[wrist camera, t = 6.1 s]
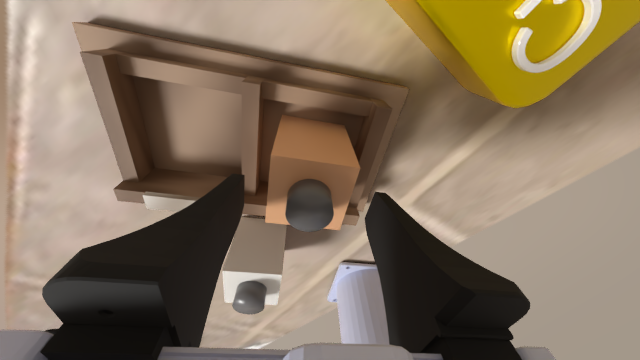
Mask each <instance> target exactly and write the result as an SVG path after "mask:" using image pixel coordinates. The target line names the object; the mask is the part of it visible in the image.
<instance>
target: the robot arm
mask: <svg viewBox="0 0 640 360" xmlns="http://www.w3.org/2000/svg"><path fill="white" fill-rule="evenodd" d="M244 189H245V175H241V174H231V175H230V176H229V177H227V178H226V179H225V180H224V181H222V182H221V183H220V184H219V185H217V186H216V187H215V188H213V189H212V190H211V191H209V192H208V193H207V194H205V195H204V196H203V197H201V198H200V199H198V200H197V201H195V202H194V203H192V204H191V205H189V206H187V207H186V208H184V209H182V210H180V211H179V212H177V213H175V214H173V215H171V216H169V217H167V218H165V219H163V220H161V221H158V222H156V223H154V224H152V225H150V226H147V227H145V228H143V229H140V230H138V231H135V232H132V233H130V234H127V235H124V236H122V237H119V238H116V239H113V240H110V241H107V242H103V243H100V244H97V245H94V246H91V247H87V248H84V249H82V250H80V251H79V252H78V253H77V254H76V255H75V256H74V257H73V258H72V259H71V260H70V261H69V262H68V263H67V264H66V265H65V266H64V267H63V268H62V269H61V270H60V271H59V272H58V273H57V274H56V275H55V276H53V277H52V278H51V279H50V280H49V281H48V282H47V284H46V285H45V286H44V287H43V293H42V295H43V298H44V300H45V302H46V303H47V305H48V306H49V307H50V308H51V309H52V310H53V312H54V313H55V314H56V315H57V316H58V318H59V319H60V320H61V321H62V322H63V325H62V326H61V327H60V328H59V329H58V331H57V332H56V333H55V334H54V335H53V334H52V333H49V332H45V331H35V330H5V329H1V330H0V360H556V359H555V357H554V356H553V355H552V353H551V352H550V351H549V349H548V348H545V347H519V348H514V346H513V345H512V343H511V342H510V340H512V339H513V335H512V334H511V332H510V331H509V329H508V328H509V327H510V326H511V325H513V324H514V323H516V322H517V321H518V320H519V319H521V318H522V317H523V316H524V315H525V314H526V313H527V312H528V310H529V309H530V302H529V301H528V299H527V298H526V296H525V295H524V294H523V293H522V292H521V290H520V289H519V288H518V287H517V285H516V284H515V283H514V282H512V281H510V280H508V279H506V278H504V277H502V276H500V275H497V274H495V273H493V272H491V271H489V270H487V269H485V268H484V267H482V266H480V265H478V264H476V263H474V262H473V261H471V260H469V259H467V258H466V257H464V256H462V255H461V254H459V253H458V252H456V251H454V250H453V249H451V248H450V247H448V246H447V245H446V244H444V243H443V242H441V241H440V240H439V239H437V238H436V237H435V236H433V235H432V234H431V233H429V232H428V231H427V230H426V229H424V228H423V227H422V226H421V225H420V224H419V223H417V222H416V221H415V220H414V219H413V218H412V217H411V216H410V215H409V214H407V213H406V212H405V211H404V210H403V209H402V208H401V207H400V206H399V205H398V204H397V203H396V202H395V201H394V200H393V199H392V198H391V197H390V196H388V195H387V194H386V193H381V192H375V194H374V196H373V199H372V202H371V204H370V207H369V209H368V212H367V214H366V217H365V224H366V231H367V236H368V239H369V243H370V246H371V249H372V253H373V256H374V259H375V263H376V265H374V264H361V263H348V262H342V263H340V265H339V267H338V270H337V273H336V275H335V278H334V281H333V284H332V286H331V289H330V292H329V294H328V297H327V299H328V301H329V302H337V304H338V313H339V322H340V331H341V340H342V343H311V344H304V345H301V346H298V347H296V348H293V349H292V350H273V349H272V350H271V349H270V350H269V349H235V348H199V346H200V342H201V338H202V334H203V330H204V326H205V323H206V319H207V315H208V312H209V308H210V304H211V301H212V297H213V294H214V290H215V287H216V283H217V280H218V277H219V273H220V270H221V267H222V264H223V261H224V258H225V256H226V253H227V251H228V249H229V246H230V244H231V242H232V239H233V237H234V235H235V232H236V230H237V227H238V225H239V222H240V219H241V216H242V212H243V208H244Z"/></svg>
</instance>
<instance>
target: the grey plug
mask: <svg viewBox="0 0 640 360" xmlns="http://www.w3.org/2000/svg"><path fill="white" fill-rule="evenodd" d="M286 229H287V225H285V224H275V223H265V219H259V218H249V217H241V219H240V222H239V225H238V227H237V230H236V233H235V236H234V239H233V242H232V244H231V247H230V250H229V253H228V256H227V259H226V262H225V265H224V268H223V271H222V272H223V286H224V300H225V302H227V303H233V305H232V306H233V309H234V310H236V311H237V312H239V313H243V314H256V313H259V312H261V311H262V310H263V309H264V305H265V304H267V305H277V302H278V296H279V290H280V284H281V278H282V269H283V259H284V249H285V239H286Z"/></svg>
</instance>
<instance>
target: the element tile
mask: <svg viewBox="0 0 640 360" xmlns="http://www.w3.org/2000/svg"><path fill="white" fill-rule="evenodd" d="M386 1H387V3H388V4H389V5H390V6H391V7H392V8H393V9H394V10H395V12H396V13H397V14H398V15H399V16H400V17H401V18H402V19H403V20H404V22H405V23H406V24H407V25H408V26H409V27H410V28H411V29H412V30H413V32H414V33H415V34H416V35H417V36H418V37H419V38H420V39H421V41H422V42H423V43H424V44H425V45H426V46H427V47H428V48H429V49H430V51H431V52H432V53H433V54H434V55H435V56H436V57H437V58H438V59H439V61H440V62H441V63H442V64H443V65H444V66H445V67H446V68H447V70H448V71H449V72H450V73H451V74H452V75H453V76H454V77H455V78H456V80H457V81H458V82H459V83H460V84H461V85H462V86H463V87H464V88H465V89H467V90H468V91H470V92H472V93H475V94H477V95H480V96H482V97H485V98H487V99H489V100H492V101H494V102H497V103H499V104H502V105H505V106H508V107H512V108H521V107H527V106H530V105H532V104H534V103H536V102H538V101H540V100H542V99H544V98H545V97H547V96H549V95H550V94H551V93H553V92H554V91H555V90H556V89H557V88H559V87H560V86H561V85H562V84H564V83H565V82H566V81H567V80H568V79H570V78H571V77H572V76H573V75H575V74H576V73H577V72H578V71H580V70H581V69H582V68H583V67H584V66H586V65H587V64H588V63H589V62H591V61H592V60H593V59H594V58H595V57H597V56H598V55H599V54H600V53H602V52H603V51H604V50H605V49H607V48H608V47H609V46H610V45H611V44H613V43H614V42H615V41H616V40H618V39H619V38H620V37H621V36H622V35H624V34H625V33H626V32H627V31H629V30H630V29H631V28H632V27H633V26H635V25H636V24H637V23H638V22H640V0H386Z"/></svg>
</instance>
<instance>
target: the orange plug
mask: <svg viewBox="0 0 640 360" xmlns="http://www.w3.org/2000/svg"><path fill="white" fill-rule="evenodd" d="M359 171H360V165H359V163H358V160H357V157H356V155H355V152H354V149H353V147H352V144H351V141H350V139H349V136H348V133H347V131H346V128H345V126H344V125H339V124H333V123H327V122H322V121H316V120H310V119H304V118H298V117H293V116H287V115H282V117H281V120H280V124H279V127H278V131H277V135H276V138H275V142H274V145H273V149H272V153H271V159H270V171H269V183H268V195H267V206H266V218H265V223H275V224H285V225H291V226H292V227H294V228H296V229H298V230H301V231H306V232H312V231H318V230H321V229H333V230H340V227H341V225H342V222H343V219H344V216H345V213H346V210H347V207H348V204H349V201H350V198H351V195H352V192H353V189H354V186H355V183H356V180H357V177H358V174H359Z"/></svg>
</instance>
